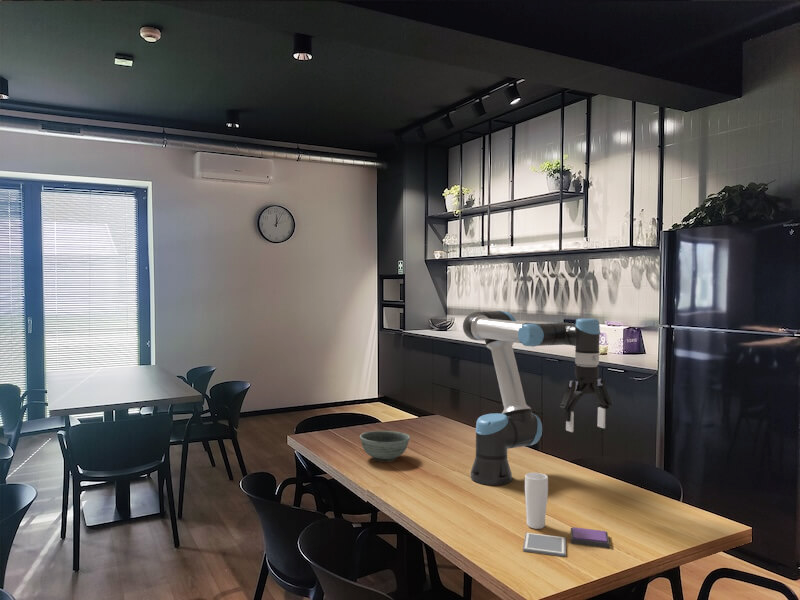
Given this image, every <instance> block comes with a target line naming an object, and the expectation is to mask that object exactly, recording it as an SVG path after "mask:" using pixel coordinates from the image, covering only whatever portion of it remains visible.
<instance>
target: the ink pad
mask: <svg viewBox="0 0 800 600" xmlns="http://www.w3.org/2000/svg"><path fill="white" fill-rule="evenodd" d="M570 543H571V544H575V545H584V546H591V547H596V548H597V547H600V548H604V549H605V548H606V549H609V548H610V539H609V534H608V531H606V530H598V529H589V528H582V527H570Z"/></svg>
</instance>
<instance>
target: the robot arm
mask: <svg viewBox="0 0 800 600" xmlns="http://www.w3.org/2000/svg"><path fill="white" fill-rule="evenodd" d="M600 328H601V327H600V321H599V319H596V318H583V317H581V318H577V319H575V323H569V322H564V321H562V322H561V321H560V322H559V321H558V322H551V323H548V322H547V323H541V322H540V323H538V322H537V323H535V322H525V321H517V319H516V318H515V317H514V315H513V314H512V313H510V312H508V311H501V310H496V311H491V310H490V311H474V312H471V313H469V314H467V316H466V317H465V318H464V319H463V323H462V330H463V333H464V334H465V336H466V337H467V338H469V339H470V340H473V341H482V342H483V341H484V342H485V346H486V348H487V349H489V350H490V351H491V356H492V360H493V364H494V365H493V366H494V370H495V373H496V377H497V382H498V388H499V392H500V396H501V401H502V405H503V411H501V413H497V412H496V413H487V414H483V415H481V416H479V417H478V418H477V420H476V422H475V423H476V425H475V457H474V461H473V464H472V467H471V470H470V479H471V480H472V481H473V482H476V483H478V484H482V485H488V486H502V485H507V484H509V483H511V482H512V480H513V479H512V478H513V477H512V476H513V475H512V469H511V466H510V464H509V460H508V450H509V449H515V448H516V449H517V448H522V447H529V446H533V445H536V444H537V443H538V442H539V441H540V439H541V437H542V434H543V424H542V421H541V419H540V417H539V416H538V415H536V414H534V413H533V411H532V407H530V406H529V405H528V404H527V402H526V399H525V395H524V394H525V393H524V390H523V385H522V381H521V377H520V373H519V369H518V364H517V360H516V357H515V352H514V348H513V344H514V343H517V344H522V345H523V346H525V347H532V348H533V347H539V346H544V347H545V346H563V345H564V346H565V345H566V346H574V347H575V350H574V351H575V353H574V355H575V356H574V364H576V365H575V366H574V376H575V379H576V380H575V381H574V380H570V379H569V380H567V381H568V382H567V387H566V389H565V393H564V395H563V397H562V400H561V402H560V404H559V405H560V406H559V409H560V410H562V411H564V421H565V431H567V432H570V433H574V421H575V420H574V418H575V417H574V416H575V415H574V414H575V413H574V411H573V409H574V408H575V407H576V405H577V403H578V402H579V400H580V399H581V397H583V396H584V395H588V394H590V395H591V396H592V397H593V398H594V399H595V401H596V402H597V404H598V406H599V407H597V427H598V428H601V429H606V418H607V410H609V409H610V407H611V406H612V405H613V404H612V400H611V397H610V395H609V393H608V390H607V386H606V381H605V379H604V378H599V376H600V374H599V373H600V371H599V370H600V367H599V366H598V365H599V364H600V337H601V336H600V335H601V329H600Z"/></svg>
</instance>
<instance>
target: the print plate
mask: <svg viewBox="0 0 800 600" xmlns="http://www.w3.org/2000/svg"><path fill="white" fill-rule="evenodd" d="M523 540H524V541H523V546H522V547H523V548H522V551H523V552H529V553H533V554H534V553H535V554H542V555H549V556H557V557H562V558H564V557H566V554H567V552H566V550H567V548H566V544H567V543H566V540H567V539H566V537H565V536H564V537H563V536H558V535H557V536H556V535H548V534H541V533H534V532H525V534H524V539H523Z"/></svg>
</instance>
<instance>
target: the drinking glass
mask: <svg viewBox="0 0 800 600" xmlns="http://www.w3.org/2000/svg"><path fill="white" fill-rule="evenodd" d="M548 493H549V477H548V475H546V474H545V473H540V472H527V473H525V475H524V498H525V499H524V500H525V512H526V514H525V515H526V526H528V528H531V529H535V530H540V529H543V528H545V527H546V513H547V503H548V497H549V496H548Z"/></svg>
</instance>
